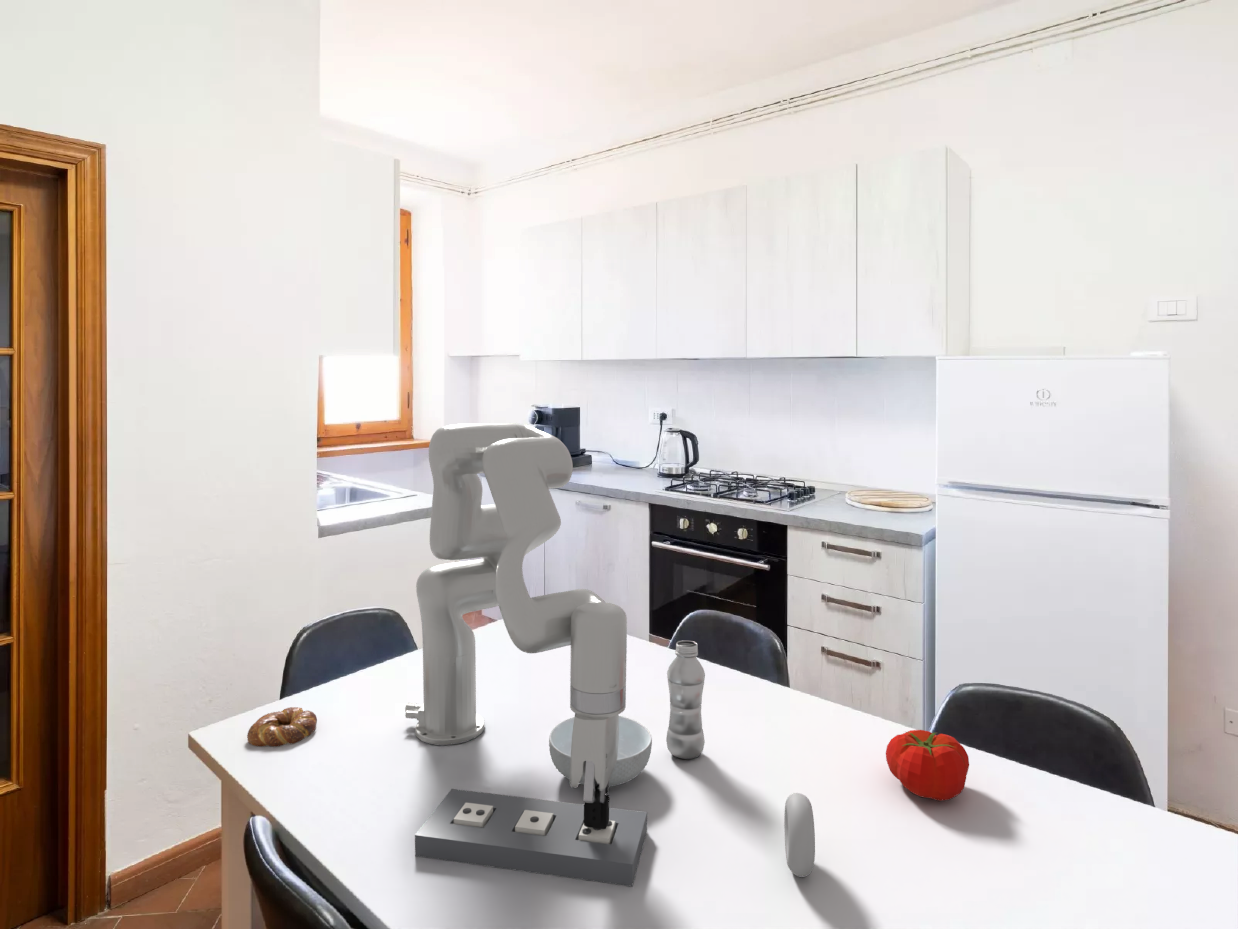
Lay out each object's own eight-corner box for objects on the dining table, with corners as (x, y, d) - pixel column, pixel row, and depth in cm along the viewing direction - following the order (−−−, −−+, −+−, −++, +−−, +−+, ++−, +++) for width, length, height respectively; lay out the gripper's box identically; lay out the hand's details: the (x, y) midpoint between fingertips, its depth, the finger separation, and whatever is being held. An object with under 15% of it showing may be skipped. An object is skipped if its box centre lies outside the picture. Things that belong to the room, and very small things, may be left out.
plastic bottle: (702, 765, 124) (705, 651, 122) (663, 761, 125) (665, 648, 124) (705, 748, 130) (708, 639, 129) (668, 744, 132) (670, 636, 130)
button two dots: (453, 835, 102) (453, 817, 102) (465, 818, 106) (465, 801, 106) (482, 838, 101) (482, 821, 101) (493, 821, 105) (493, 804, 105)
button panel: (415, 855, 99) (414, 835, 99) (451, 807, 111) (451, 788, 110) (632, 886, 93) (632, 864, 93) (646, 832, 105) (647, 812, 105)
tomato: (904, 760, 127) (907, 711, 126) (980, 788, 118) (984, 736, 117) (867, 789, 117) (869, 737, 116) (947, 822, 108) (950, 766, 107)
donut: (781, 845, 102) (784, 777, 101) (807, 847, 102) (809, 779, 101) (787, 892, 92) (790, 817, 91) (815, 895, 92) (818, 820, 91)
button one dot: (515, 843, 100) (515, 825, 100) (524, 825, 104) (524, 808, 104) (544, 847, 99) (544, 829, 99) (553, 829, 104) (553, 812, 103)
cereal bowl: (573, 814, 109) (574, 769, 109) (534, 764, 124) (534, 724, 123) (670, 787, 117) (671, 745, 116) (622, 743, 132) (622, 706, 131)
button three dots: (578, 851, 99) (578, 833, 98) (585, 833, 103) (586, 816, 102) (608, 855, 98) (609, 837, 97) (615, 837, 102) (615, 819, 102)
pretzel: (256, 757, 126) (255, 737, 126) (239, 735, 134) (238, 715, 134) (326, 736, 134) (326, 716, 134) (307, 716, 142) (306, 697, 142)
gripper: (584, 672, 106) (583, 792, 108) (555, 717, 92) (554, 854, 93) (634, 677, 105) (632, 798, 107) (614, 723, 90) (612, 862, 92)
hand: (596, 824), depth 100 cm, fingers closed
